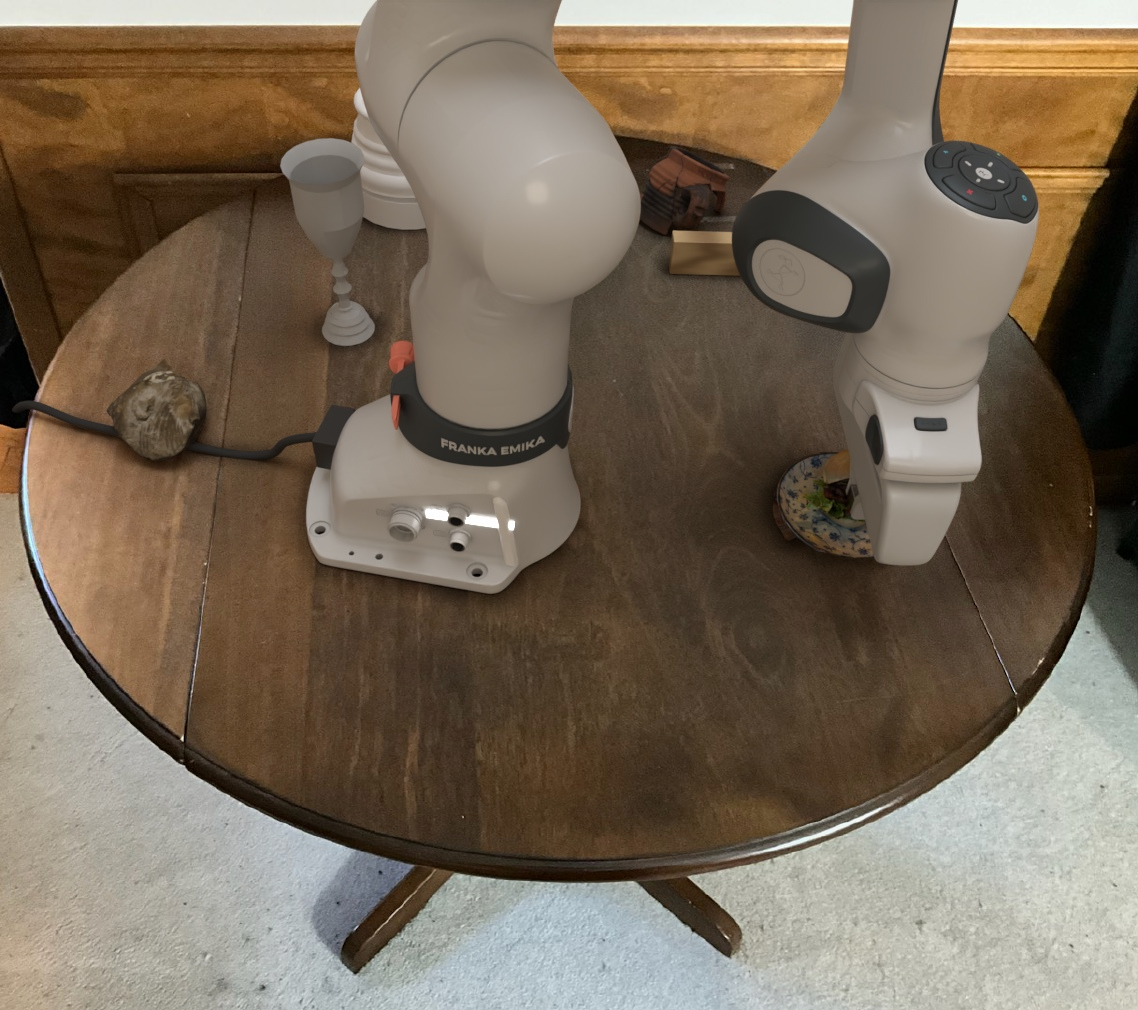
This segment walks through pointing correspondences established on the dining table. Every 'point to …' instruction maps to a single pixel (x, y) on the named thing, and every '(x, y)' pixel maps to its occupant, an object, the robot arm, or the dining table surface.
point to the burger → (820, 506)
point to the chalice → (331, 221)
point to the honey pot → (383, 179)
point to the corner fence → (702, 253)
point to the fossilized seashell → (159, 413)
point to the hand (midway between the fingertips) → (858, 506)
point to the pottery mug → (694, 199)
